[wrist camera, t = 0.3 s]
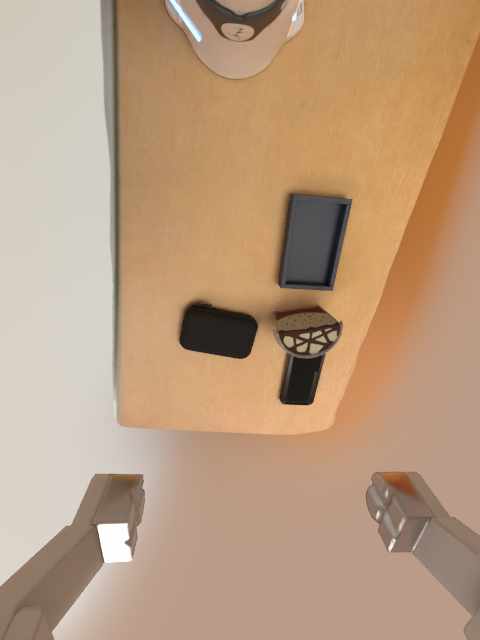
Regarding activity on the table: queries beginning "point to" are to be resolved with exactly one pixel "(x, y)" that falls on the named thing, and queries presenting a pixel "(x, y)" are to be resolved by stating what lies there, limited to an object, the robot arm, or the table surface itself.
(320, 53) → the table surface
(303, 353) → the food container
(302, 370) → the phone
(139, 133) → the table surface
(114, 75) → the table surface
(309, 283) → the tray
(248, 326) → the carrying case
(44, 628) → the robot arm
